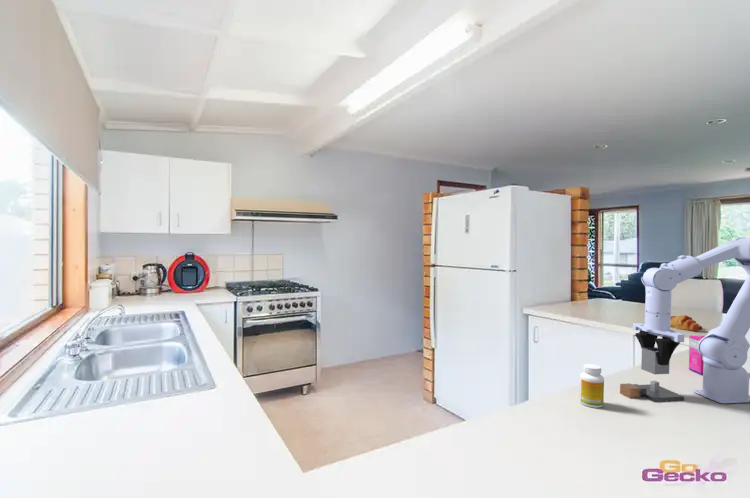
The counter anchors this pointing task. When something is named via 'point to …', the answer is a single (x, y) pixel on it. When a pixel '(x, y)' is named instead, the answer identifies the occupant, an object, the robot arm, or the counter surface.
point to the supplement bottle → (591, 386)
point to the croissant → (684, 323)
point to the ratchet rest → (649, 392)
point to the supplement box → (695, 355)
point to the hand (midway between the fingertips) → (655, 362)
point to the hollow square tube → (652, 361)
